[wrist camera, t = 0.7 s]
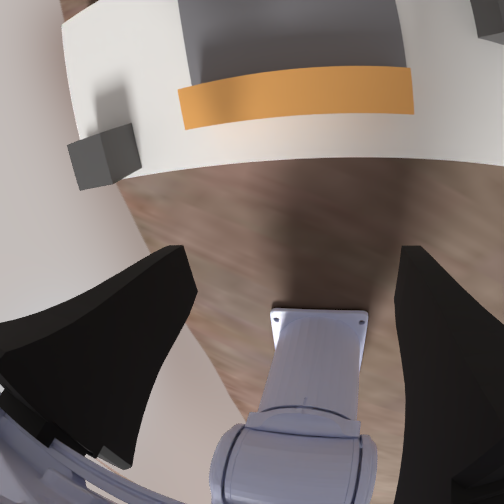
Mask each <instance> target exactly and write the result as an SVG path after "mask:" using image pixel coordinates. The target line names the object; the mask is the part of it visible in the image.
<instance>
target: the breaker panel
mask: <svg viewBox="0 0 504 504" xmlns="http://www.w3.org/2000/svg"><path fill="white" fill-rule="evenodd" d="M62 37H63V47H64V55H65V63H66V71H67V76H68V83H69V89H70V95H71V100H72V105H73V110H74V115H75V120H76V124H77V129H78V133H79V137H80V140H82V139H84V138H87V137H90V136H93V135H95V134H98V133H101V132H104V131H107V130H110V129H113V128H116V127H119V126H123V125H126V124H129V123H132V126H133V131H134V135H135V140H136V144H137V148H138V153H139V157H140V161H141V165H142V168H141V169H139V170H137V171H135V172H134V173H132V174H130V175H128V176H126V177H125V178H131V177H137V176H142V175H148V174H155V173H161V172H168V171H175V170H182V169H190V168H198V167H206V166H215V165H224V164H234V163H245V162H257V161H270V160H286V159H305V158H337V157H386V158H417V159H435V160H450V161H462V162H472V163H482V164H491V165H499V166H504V45H502V44H498V43H495V42H491V41H488V40H484V39H480V38H478V35H477V30H476V25H475V20H474V15H473V11H472V7H471V3H470V0H99V1H97V2H95V3H94V4H92V5H91V6H89V7H87V8H86V9H84V10H83V11H81V12H80V13H78V14H77V15H75V16H74V17H72V18H71V19H69V20H68V21H66V22H65V23H64V24H62ZM329 66H389V67H406V68H411V77H412V87H413V100H414V115H410V114H387V113H336V114H312V115H296V116H284V117H273V118H263V119H254V120H246V121H238V122H231V123H224V124H218V125H212V126H206V127H200V128H194V129H189V130H185V127H184V122H183V117H182V112H181V106H180V101H179V96H178V89H182V88H185V87H190V86H194V85H198V84H202V83H207V82H211V81H216V80H221V79H226V78H232V77H237V76H243V75H249V74H256V73H263V72H271V71H279V70H288V69H298V68H311V67H329ZM125 178H123V179H125Z"/></svg>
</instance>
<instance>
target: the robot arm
mask: <svg viewBox="0 0 504 504" xmlns="http://www.w3.org/2000/svg"><path fill="white" fill-rule="evenodd" d="M197 292H198V291H197V288H196V284H195V281H194V278H193V275H192V272H191V269H190V266H189V262H188V259H187V256H186V253H185V249H184V246H183V245H169V246H166V247H164V248H162V249H160V250H158V251H156V252H154V253H152V254H150V255H149V256H147V257H145V258H143V259H142V260H140V261H138V262H137V263H135V264H133V265H132V266H130V267H128V268H127V269H125V270H123V271H122V272H120V273H118V274H116V275H115V276H113V277H111V278H109V279H108V280H106V281H104V282H103V283H101V284H99V285H97V286H96V287H94V288H92V289H90V290H88V291H86V292H85V293H83V294H80V295H78V296H76V297H74V298H72V299H70V300H68V301H66V302H63V303H61V304H58V305H56V306H53V307H51V308H49V309H46V310H44V311H41V312H38V313H35V314H32V315H29V316H26V317H22V318H19V319H16V320H11V321H7V322H2V323H0V384H1V385H2V386H3V388H5V389H4V391H3V392H2V393H1V392H0V504H117V503H115V502H113V501H111V500H109V499H107V498H105V497H103V496H101V495H99V494H97V493H95V492H94V491H92V490H90V489H88V488H87V487H86V482H85V480H87V481H88V482H90V483H92V484H93V485H95V486H97V487H98V488H100V489H102V490H104V491H105V492H107V493H109V494H111V495H113V496H114V497H116V498H118V499H120V500H122V501H124V502H126V503H128V504H185V503H182V502H180V501H177V500H174V499H172V498H169V497H166V496H164V495H161V494H158V493H156V492H154V491H151V490H149V489H147V488H144V487H142V486H140V485H137V484H135V483H133V482H131V481H129V480H127V479H125V478H123V477H121V476H119V475H117V474H115V473H113V472H111V471H109V470H107V469H105V468H103V467H101V466H99V465H98V464H96V463H94V462H92V461H91V460H89V459H87V458H86V457H85V455H86V454H88V455H89V456H91V457H93V458H97V457H99V458H101V459H103V460H105V461H106V462H109V463H110V464H112V465H114V466H116V467H118V468H120V469H123V470H125V469H129V468H131V467H132V464H133V457H134V452H135V447H136V441H137V437H138V433H139V429H140V425H141V422H142V417H143V414H144V411H145V408H146V405H147V402H148V399H149V396H150V393H151V390H152V388H153V385H154V383H155V380H156V378H157V375H158V372H159V370H160V368H161V366H162V364H163V362H164V360H165V358H166V357H167V355H168V353H169V351H170V349H171V347H172V345H173V344H174V342H175V340H176V338H177V337H178V335H179V333H180V331H181V329H182V327H183V325H184V324H185V322H186V320H187V318H188V316H189V314H190V311H191V309H192V306H193V304H194V301H195V298H196V295H197ZM394 303H395V318H396V328H397V334H398V340H399V347H400V353H401V360H402V367H403V374H404V382H405V395H406V407H405V431H404V443H403V453H402V461H401V468H400V475H399V481H398V486H397V491H396V495H395V500H394V504H504V325H503V324H502V323H501V322H500V321H499V320H498V319H496V318H495V317H494V316H493V315H492V314H490V313H489V312H488V311H487V310H486V309H485V308H484V307H482V306H481V305H480V304H479V303H478V302H477V301H476V300H475V299H474V298H473V297H472V296H471V295H470V294H469V293H468V292H467V291H465V290H464V289H463V288H462V287H461V286H460V285H459V284H458V283H457V282H456V281H455V280H454V279H453V278H452V277H451V276H450V275H449V274H448V273H447V272H446V271H445V270H444V269H443V267H442V266H441V265H440V264H439V263H438V262H437V261H436V260H435V259H434V258H433V257H432V256H431V255H430V254H429V253H428V252H427V251H426V250H424V249H423V248H422V247H421V246H402V249H401V257H400V264H399V271H398V278H397V284H396V290H395V296H394ZM270 317H271V324H272V331H273V338H274V345H275V353H274V357H273V360H272V364H271V368H270V371H269V375H268V378H267V381H266V385H265V388H264V392H263V395H262V398H261V402H260V405H259V408H258V412H250V413H249V416H248V419H247V422H246V424H236V425H234V426H233V427H232V428H231V429H230V430H228V431H227V432H226V433H225V434H224V435H223V436H222V437H221V439H220V441H219V443H218V445H217V447H216V450H215V452H214V455H213V458H212V462H211V466H210V473H209V486H210V490H211V494H212V502H211V504H369V503H370V500H371V497H372V493H373V489H374V485H375V479H376V472H377V446H376V444H375V442H374V441H373V440H372V439H371V437H370V436H369V435H360V423H361V422H360V421H357V408H358V390H359V372H360V367H361V361H362V356H363V350H364V344H365V338H366V331H367V324H368V313H367V312H366V311H359V310H314V309H288V308H273V309H272V310H271V312H270ZM275 317H277V318H279V319H276V318H275ZM361 320H363V321H362V322H360V321H361Z"/></svg>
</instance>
